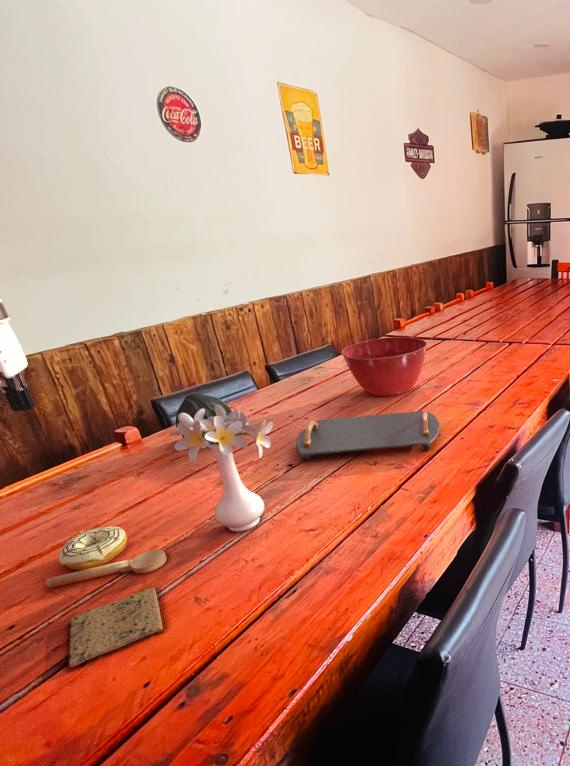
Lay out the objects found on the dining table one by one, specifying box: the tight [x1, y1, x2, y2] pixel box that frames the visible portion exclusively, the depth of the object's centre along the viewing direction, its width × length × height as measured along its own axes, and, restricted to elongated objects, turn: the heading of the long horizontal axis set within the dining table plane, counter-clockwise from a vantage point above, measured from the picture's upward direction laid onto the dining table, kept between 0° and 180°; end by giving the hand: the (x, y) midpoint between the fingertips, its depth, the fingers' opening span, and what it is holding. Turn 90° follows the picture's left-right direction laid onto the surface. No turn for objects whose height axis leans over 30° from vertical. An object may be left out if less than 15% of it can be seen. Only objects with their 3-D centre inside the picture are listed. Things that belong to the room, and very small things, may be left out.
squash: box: [175, 393, 233, 442], centre depth 144 cm, size 14×15×15 cm
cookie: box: [68, 587, 163, 669], centre depth 81 cm, size 12×12×1 cm
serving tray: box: [295, 410, 441, 462], centre depth 139 cm, size 39×23×6 cm, turn 96°
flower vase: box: [169, 404, 274, 532], centre depth 101 cm, size 13×18×25 cm
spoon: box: [45, 548, 167, 589], centre depth 93 cm, size 19×6×2 cm, turn 111°
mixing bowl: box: [341, 336, 428, 397], centre depth 174 cm, size 28×28×16 cm
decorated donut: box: [58, 525, 128, 571], centre depth 97 cm, size 10×11×4 cm
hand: (24, 408), depth 101 cm, fingers closed
